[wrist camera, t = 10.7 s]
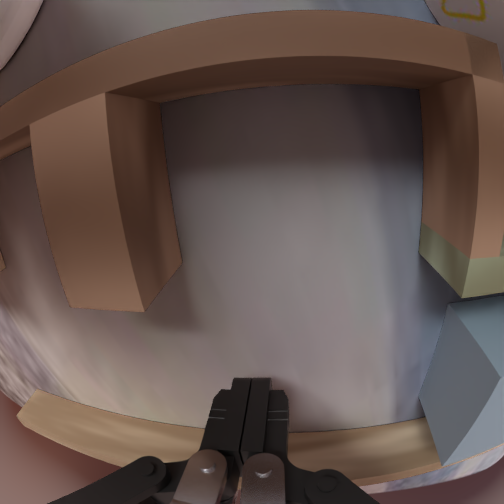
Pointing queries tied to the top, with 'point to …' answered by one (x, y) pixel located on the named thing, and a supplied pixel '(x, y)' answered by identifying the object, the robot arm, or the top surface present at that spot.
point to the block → (467, 381)
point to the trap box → (161, 209)
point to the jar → (15, 25)
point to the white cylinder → (473, 19)
